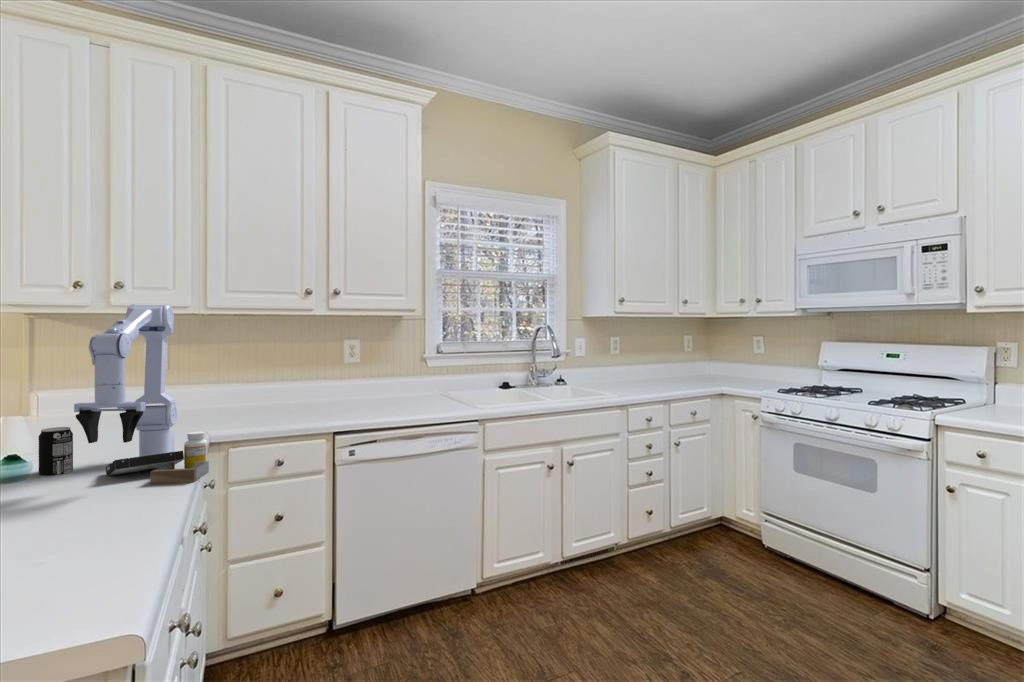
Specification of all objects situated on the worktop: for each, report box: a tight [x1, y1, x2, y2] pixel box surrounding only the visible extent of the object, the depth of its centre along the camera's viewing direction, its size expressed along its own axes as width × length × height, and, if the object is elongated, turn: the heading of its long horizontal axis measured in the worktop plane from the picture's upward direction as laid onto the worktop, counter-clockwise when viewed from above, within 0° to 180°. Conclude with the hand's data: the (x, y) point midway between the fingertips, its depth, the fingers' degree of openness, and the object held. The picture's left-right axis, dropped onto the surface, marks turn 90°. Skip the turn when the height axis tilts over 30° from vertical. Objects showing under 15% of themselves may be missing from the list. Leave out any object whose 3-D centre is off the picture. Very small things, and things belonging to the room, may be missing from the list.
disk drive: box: [105, 450, 184, 476], centre depth 136 cm, size 10×3×15 cm
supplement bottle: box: [183, 430, 209, 469], centre depth 141 cm, size 5×5×10 cm
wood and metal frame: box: [149, 460, 210, 485], centre depth 132 cm, size 10×10×3 cm
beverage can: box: [38, 426, 74, 477], centre depth 134 cm, size 7×7×12 cm
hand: (110, 442), depth 124 cm, fingers open, 7 cm apart
